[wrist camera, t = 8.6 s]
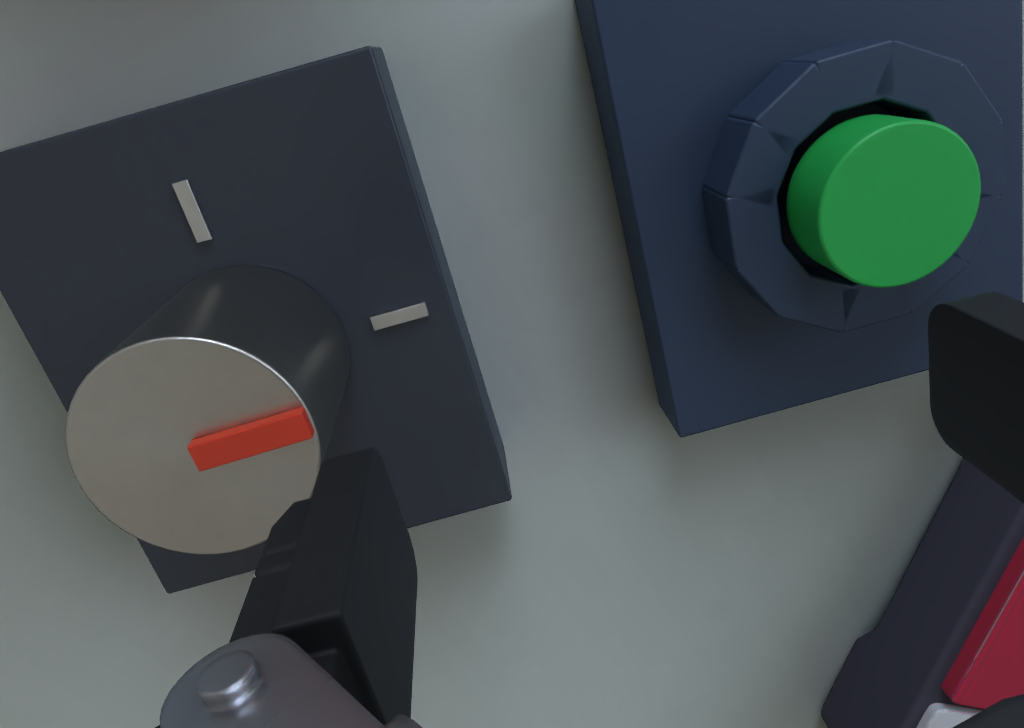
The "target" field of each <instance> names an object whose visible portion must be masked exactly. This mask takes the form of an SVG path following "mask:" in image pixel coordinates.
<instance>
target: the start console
mask: <svg viewBox="0 0 1024 728" xmlns="http://www.w3.org/2000/svg"><path fill="white" fill-rule="evenodd" d="M575 2H576V7H577V12H578V17H579V21H580V26H581V31H582V36H583V40H584V45H585V50H586V55H587V60H588V64H589V69H590V74H591V79H592V83H593V88H594V93H595V98H596V103H597V107H598V112H599V117H600V122H601V126H602V131H603V136H604V141H605V146H606V150H607V155H608V160H609V165H610V169H611V174H612V179H613V184H614V189H615V193H616V198H617V203H618V208H619V212H620V217H621V222H622V227H623V232H624V236H625V241H626V246H627V251H628V255H629V260H630V265H631V270H632V275H633V279H634V284H635V289H636V294H637V298H638V303H639V308H640V313H641V318H642V322H643V327H644V332H645V337H646V342H647V346H648V351H649V356H650V361H651V365H652V370H653V375H654V380H655V385H656V389H657V394H658V399H659V404H660V406H661V408H662V409H663V411H664V413H665V414H666V416H667V418H668V419H669V421H670V422H671V424H672V426H673V427H674V429H675V430H676V432H677V434H678V435H679V437H685V436H689V435H692V434H696V433H700V432H703V431H707V430H710V429H714V428H718V427H721V426H725V425H729V424H732V423H736V422H740V421H743V420H747V419H751V418H754V417H758V416H761V415H765V414H769V413H772V412H776V411H780V410H783V409H787V408H791V407H794V406H798V405H802V404H805V403H809V402H812V401H816V400H820V399H823V398H827V397H831V396H834V395H838V394H842V393H845V392H849V391H853V390H856V389H860V388H863V387H867V386H871V385H874V384H878V383H882V382H885V381H889V380H893V379H896V378H900V377H904V376H907V375H911V374H914V373H918V372H922V371H925V370H929V348H928V319H929V315H930V312H931V311H932V309H933V308H934V307H935V306H936V305H938V304H942V303H946V302H950V301H954V300H958V299H962V298H966V297H970V296H974V295H978V294H981V293H985V292H989V291H996V292H999V293H1002V294H1004V295H1007V296H1009V297H1011V298H1014V299H1016V300H1019V301H1021V302H1022V0H575ZM871 114H880V115H890V116H897V117H905V118H912V119H920V120H927V121H931V122H936V123H938V124H941V125H943V126H946V127H947V128H949V129H951V130H952V131H954V132H955V133H956V134H958V135H959V136H960V137H961V138H962V139H963V140H964V141H965V143H966V144H967V145H968V146H969V148H970V150H971V151H972V153H973V155H974V157H975V159H976V162H977V164H978V168H979V173H980V181H981V195H980V202H979V207H978V211H977V214H976V217H975V220H974V222H973V225H972V227H971V229H970V231H969V233H968V234H967V236H966V238H965V240H964V241H963V242H962V244H961V245H960V247H959V248H958V249H957V250H956V251H955V253H954V254H953V255H952V256H951V257H950V258H949V259H948V260H947V261H946V262H945V263H944V264H942V265H941V266H940V267H939V268H937V269H936V270H935V271H933V272H931V273H930V274H928V275H927V276H925V277H923V278H921V279H918V280H916V281H914V282H911V283H908V284H905V285H901V286H896V287H888V288H874V287H868V286H863V285H860V284H857V283H854V282H852V281H850V280H849V279H847V278H845V277H843V276H841V275H839V274H838V273H836V272H834V271H832V270H830V269H829V268H827V267H825V266H823V265H821V264H819V263H818V262H816V261H814V260H813V259H811V258H810V257H809V256H807V255H806V254H805V253H804V252H803V251H802V250H801V248H800V247H799V246H798V244H797V243H796V241H795V239H794V237H793V236H792V233H791V230H790V228H789V224H788V219H787V209H786V203H787V193H788V188H789V184H790V181H791V178H792V175H793V173H794V170H795V168H796V166H797V164H798V163H799V161H800V159H801V158H802V156H803V155H804V153H805V152H806V151H807V149H808V148H809V147H810V146H811V145H812V144H813V143H814V142H815V141H816V140H817V139H818V138H819V137H820V136H821V135H822V134H824V133H825V132H826V131H828V130H829V129H831V128H832V127H834V126H835V125H837V124H839V123H841V122H843V121H845V120H848V119H851V118H854V117H858V116H863V115H871Z"/></svg>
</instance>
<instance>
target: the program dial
mask: <svg viewBox="0 0 1024 728" xmlns="http://www.w3.org/2000/svg"><path fill="white" fill-rule="evenodd" d="M349 368H350V352H349V347H348V341H347V338H346V335H345V332H344V329H343V327H342V325H341V323H340V321H339V319H338V317H337V316H336V314H335V313H334V311H333V310H332V308H331V307H330V306H329V305H328V303H327V302H326V301H325V300H324V299H323V298H322V297H321V296H320V295H319V294H318V293H317V292H315V291H314V290H313V289H312V288H310V287H309V286H307V285H306V284H305V283H303V282H301V281H300V280H298V279H296V278H294V277H292V276H290V275H287V274H285V273H282V272H280V271H276V270H273V269H269V268H264V267H257V266H233V267H226V268H221V269H217V270H214V271H211V272H209V273H206V274H203V275H202V276H200V277H198V278H196V279H194V280H193V281H191V282H190V283H189V284H187V285H186V286H185V287H183V288H182V289H181V290H180V291H179V292H178V293H177V294H175V295H174V296H173V297H172V298H171V299H170V300H169V301H168V302H166V303H165V304H164V305H163V306H162V307H161V308H160V309H159V310H158V311H156V312H155V313H154V314H153V315H152V316H151V317H150V318H149V319H147V320H146V321H145V322H144V323H143V324H142V325H141V326H140V327H139V328H137V329H136V330H135V331H134V332H133V333H132V334H131V335H130V336H128V337H127V338H126V339H125V340H124V341H123V342H122V343H121V344H119V345H118V346H117V347H116V348H115V349H114V350H113V351H112V352H111V353H109V354H108V355H107V356H106V357H105V358H104V359H103V360H102V361H100V362H99V363H98V364H97V365H96V366H95V367H94V368H93V369H92V370H91V371H90V372H89V373H88V374H87V375H86V377H85V378H84V380H83V381H82V382H81V384H80V385H79V387H78V388H77V390H76V392H75V395H74V397H73V399H72V401H71V404H70V407H69V411H68V414H67V421H66V430H65V432H66V448H67V453H68V458H69V462H70V465H71V468H72V470H73V473H74V475H75V477H76V479H77V481H78V483H79V485H80V487H81V489H82V490H83V491H84V493H85V494H86V496H87V497H88V499H89V500H90V501H91V502H92V503H93V505H94V506H95V507H96V508H97V509H98V510H99V511H100V512H101V513H102V514H103V515H104V516H105V517H106V518H108V519H109V520H110V521H111V522H112V523H114V524H115V525H117V526H118V527H119V528H121V529H122V530H124V531H125V532H127V533H129V534H131V535H132V536H134V537H136V538H138V539H140V540H142V541H145V542H147V543H149V544H152V545H154V546H158V547H161V548H164V549H167V550H172V551H177V552H182V553H190V554H221V553H230V552H234V551H239V550H243V549H247V548H249V547H252V546H255V545H258V544H260V543H262V542H264V541H266V540H267V539H268V536H269V533H270V531H271V528H272V526H273V525H274V524H275V523H276V522H277V521H278V520H279V518H280V517H281V516H282V515H283V514H284V513H285V512H286V511H287V510H288V508H289V507H290V506H291V505H292V504H293V503H294V502H297V501H301V500H305V499H309V498H311V497H312V494H313V490H314V487H315V484H316V480H317V477H318V474H319V470H320V467H321V464H322V462H323V460H324V458H325V455H326V452H327V448H328V445H329V441H330V438H331V435H332V431H333V428H334V424H335V421H336V418H337V414H338V411H339V407H340V404H341V401H342V397H343V394H344V390H345V387H346V383H347V379H348V376H349Z"/></svg>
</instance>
